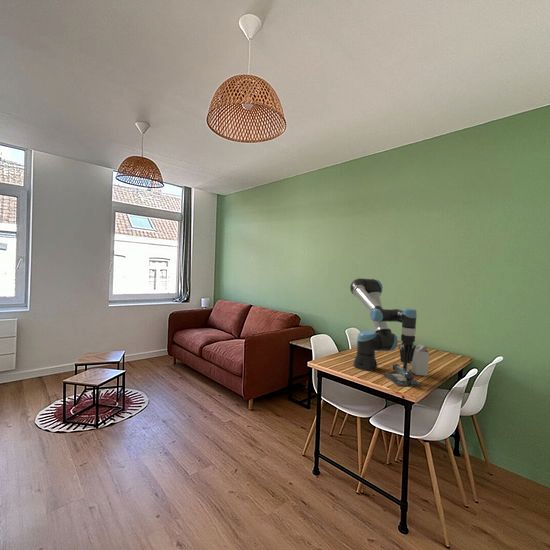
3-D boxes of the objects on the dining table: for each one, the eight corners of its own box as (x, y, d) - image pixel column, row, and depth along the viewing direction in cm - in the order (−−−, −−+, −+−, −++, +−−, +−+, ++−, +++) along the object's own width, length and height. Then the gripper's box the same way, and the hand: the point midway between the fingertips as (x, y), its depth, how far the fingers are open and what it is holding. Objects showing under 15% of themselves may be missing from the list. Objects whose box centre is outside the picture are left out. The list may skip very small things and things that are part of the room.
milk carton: (422, 372, 190) (424, 343, 189) (427, 376, 182) (429, 345, 182) (411, 371, 190) (413, 342, 189) (416, 375, 183) (418, 345, 182)
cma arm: (391, 368, 180) (391, 363, 180) (397, 368, 181) (397, 363, 181) (407, 379, 163) (407, 374, 163) (414, 379, 163) (414, 374, 163)
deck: (383, 375, 179) (384, 369, 179) (405, 375, 181) (405, 370, 181) (397, 386, 163) (398, 379, 163) (421, 386, 165) (421, 379, 165)
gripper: (409, 332, 180) (407, 370, 181) (395, 333, 174) (393, 373, 174) (420, 335, 174) (418, 374, 174) (406, 336, 168) (404, 377, 168)
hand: (405, 373), depth 174 cm, fingers closed
